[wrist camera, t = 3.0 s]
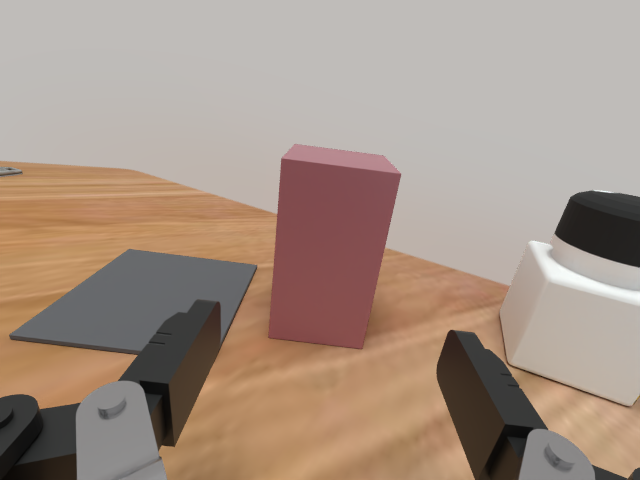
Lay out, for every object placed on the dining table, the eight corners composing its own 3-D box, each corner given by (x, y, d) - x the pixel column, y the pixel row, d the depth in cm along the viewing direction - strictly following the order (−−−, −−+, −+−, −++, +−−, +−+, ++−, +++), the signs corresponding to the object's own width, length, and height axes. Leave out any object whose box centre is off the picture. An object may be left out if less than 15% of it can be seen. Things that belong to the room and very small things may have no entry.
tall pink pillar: (268, 337, 22) (281, 158, 17) (282, 287, 27) (294, 144, 23) (362, 348, 22) (401, 173, 17) (355, 296, 28) (383, 155, 23)
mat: (10, 338, 19) (8, 334, 19) (129, 251, 30) (128, 249, 30) (213, 363, 19) (213, 359, 19) (256, 267, 30) (257, 265, 30)
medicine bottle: (633, 410, 20) (764, 231, 15) (506, 365, 22) (584, 197, 17) (594, 341, 26) (677, 199, 21) (497, 312, 28) (553, 177, 23)
